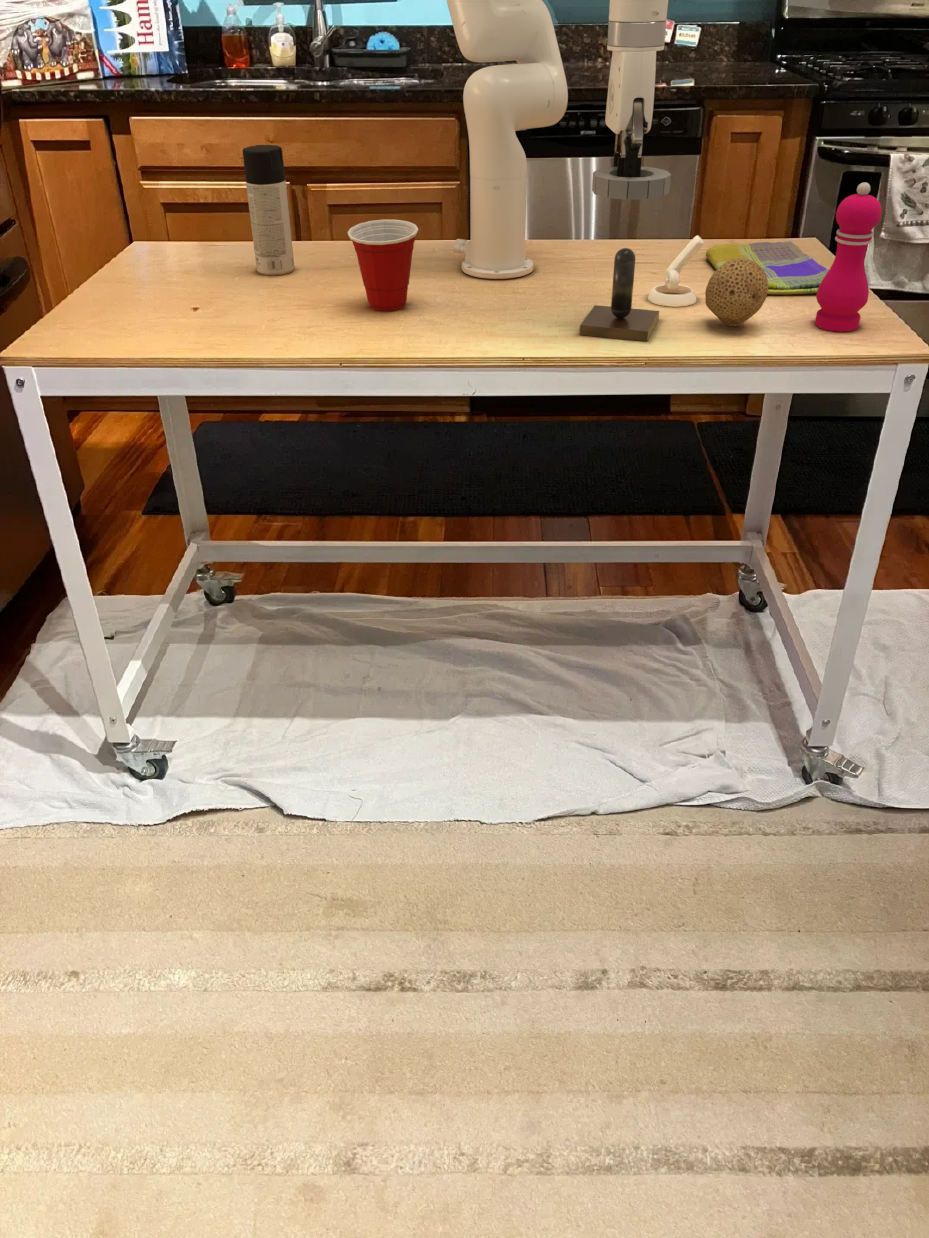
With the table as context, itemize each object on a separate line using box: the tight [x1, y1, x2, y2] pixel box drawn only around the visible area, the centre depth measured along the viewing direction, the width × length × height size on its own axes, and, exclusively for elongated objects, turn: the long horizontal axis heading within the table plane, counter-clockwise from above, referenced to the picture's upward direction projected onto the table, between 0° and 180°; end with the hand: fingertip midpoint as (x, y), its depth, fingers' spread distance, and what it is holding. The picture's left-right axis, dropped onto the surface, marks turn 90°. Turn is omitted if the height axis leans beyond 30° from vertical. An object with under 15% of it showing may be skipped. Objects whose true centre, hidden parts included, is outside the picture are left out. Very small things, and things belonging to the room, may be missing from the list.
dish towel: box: [705, 240, 830, 295], centre depth 173 cm, size 18×24×3 cm
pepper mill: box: [814, 182, 883, 333], centre depth 146 cm, size 7×7×20 cm
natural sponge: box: [704, 258, 768, 328], centre depth 148 cm, size 9×9×10 cm
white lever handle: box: [647, 234, 705, 308], centre depth 160 cm, size 8×12×7 cm
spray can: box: [242, 144, 295, 276], centre depth 173 cm, size 7×7×20 cm
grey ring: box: [591, 166, 672, 201], centre depth 140 cm, size 10×10×2 cm
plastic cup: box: [347, 219, 419, 312], centre depth 158 cm, size 11×11×12 cm
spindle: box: [579, 247, 660, 342], centre depth 148 cm, size 10×10×12 cm
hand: (625, 184), depth 144 cm, fingers closed on grey ring, 2 cm apart
